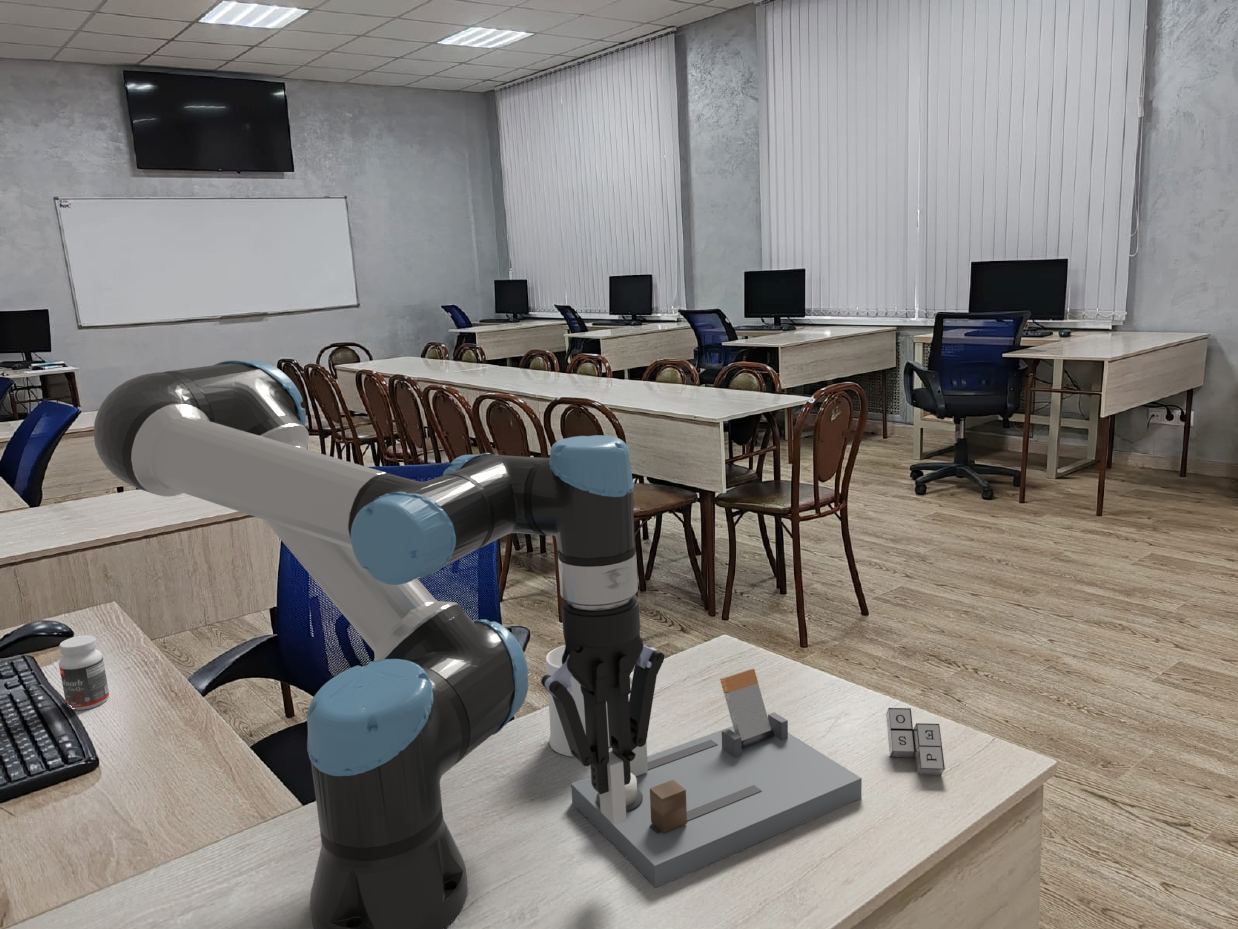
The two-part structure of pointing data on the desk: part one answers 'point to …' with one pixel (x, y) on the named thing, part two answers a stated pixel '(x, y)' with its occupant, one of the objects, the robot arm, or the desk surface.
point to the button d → (631, 791)
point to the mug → (556, 729)
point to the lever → (746, 707)
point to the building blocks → (915, 741)
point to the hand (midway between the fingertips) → (613, 815)
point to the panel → (723, 799)
